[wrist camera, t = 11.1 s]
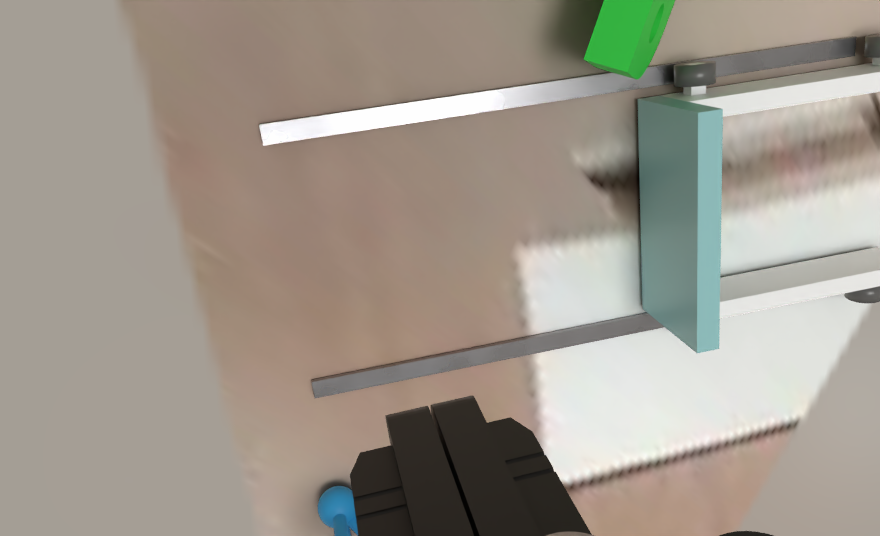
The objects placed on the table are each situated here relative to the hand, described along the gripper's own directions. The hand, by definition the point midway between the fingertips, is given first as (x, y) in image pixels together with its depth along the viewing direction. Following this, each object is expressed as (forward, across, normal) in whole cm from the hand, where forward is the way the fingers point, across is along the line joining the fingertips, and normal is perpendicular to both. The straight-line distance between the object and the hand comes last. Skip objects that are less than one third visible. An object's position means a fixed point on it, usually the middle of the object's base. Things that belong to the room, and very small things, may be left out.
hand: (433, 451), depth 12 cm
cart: (+26, -16, +6) cm, 31 cm away
